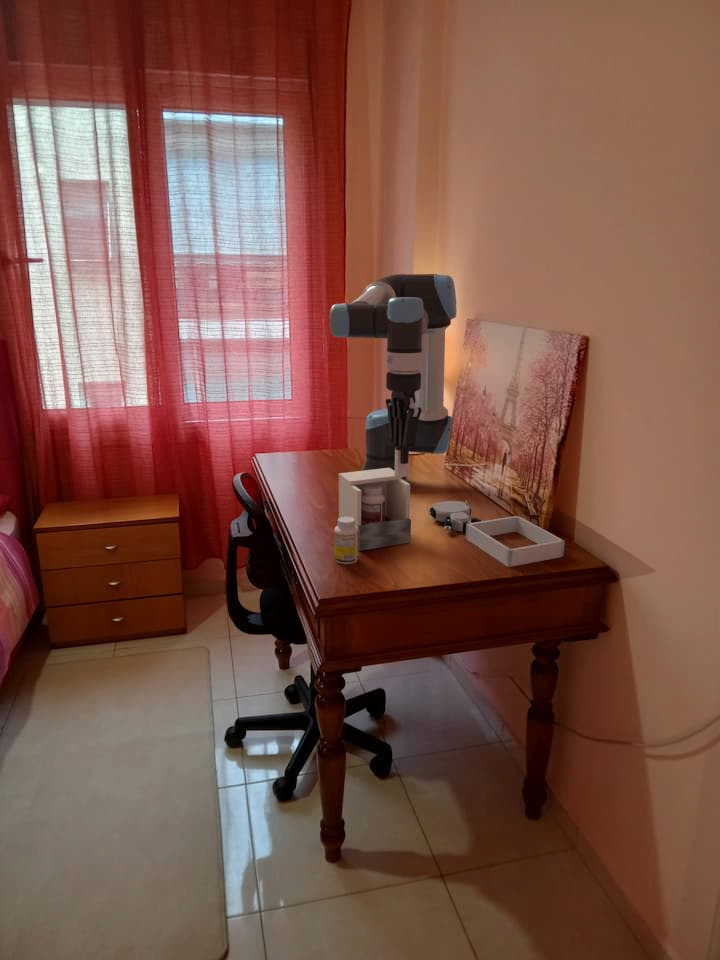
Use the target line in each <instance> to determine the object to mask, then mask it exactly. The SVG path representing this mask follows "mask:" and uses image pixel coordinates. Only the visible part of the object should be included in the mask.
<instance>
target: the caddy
mask: <svg viewBox="0 0 720 960" xmlns="http://www.w3.org/2000/svg"><path fill="white" fill-rule="evenodd" d="M394 474H395V471H394V470H392V469H391V468H382V469H373V470H365V471H362V470H358V471H348V472H340V473H338V519H339V518H341V517H352V518H354V519H355V526H357V527H358V526H360V525H361V496H362V495H363V494H364V492H363V487H364V486H365V485H368V484H377V485H380V486H382V493H381V494H383V495H384V497H385V516H386V517H387V518H389V519H390V520H391V521H393V520H400V519H407V518H409V519H410V515H411V514H410V513H411V512H410V511H411V510H410V507H411V484H410V483H409V482H408V481H407V482H406V481H404V480H402V477H399V478H397V477H395V476H394ZM358 551H360V550H359V549H358Z"/></svg>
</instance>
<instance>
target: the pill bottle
mask: <svg viewBox="0 0 720 960" xmlns="http://www.w3.org/2000/svg"><path fill="white" fill-rule="evenodd" d="M363 492H364V494H363V495H362V496H361V525H366V524H373V523H380V522H385V497H384V495H383V494H381V493H382V486H380V485H377V484H368V485H365V486H364V487H363Z"/></svg>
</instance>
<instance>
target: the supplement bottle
mask: <svg viewBox="0 0 720 960" xmlns="http://www.w3.org/2000/svg"><path fill="white" fill-rule="evenodd" d="M333 533H334V538H333V539H334V560H335V561H336V563H338V564H341V565H352V564H355V563H357V562H358V560H359V550H358V527H357V526H355V519H354V518H352V517H341V518H339V517H338V519H337V525H336V526H335V527H334V529H333Z"/></svg>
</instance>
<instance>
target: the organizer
mask: <svg viewBox="0 0 720 960" xmlns="http://www.w3.org/2000/svg"><path fill="white" fill-rule="evenodd" d="M514 532H516V533H518V534H520V535H521V536H523V537H524V538H527V539H528V540H530V541H532V542H534V543H535V544H532V545H526V546H522V547H515V548H509V547H508V546H506V545H505V544H504V543H501V542H500V541H498V540H496V539H495V538H493V537H492V536H498V535H502V534H509V533H514ZM465 540H467V541H468V542H470V543H471V544H473V545H474V546H476V547H477V546H478V547H477V548H479V549H480V550H482V551H484V552H485V553H487V554H488V555H490V556H491V557H492V558H494V559H495V560H497V561H499V562H500V563H502V564H503V565H504V566H506V567H508V568H511V567H515V566H517V567H518V566H521V565H526V564H533V563H537V562H542V561H547V560H553V559H557V558H558V559H560V558H562V557H564V555H565V553H564V552H565V544H566V540H564V539H562V538H560V537H558V536H556V535H555V534H553V533H551V532H549V531H547V530H545V529H544V528H542V527H540V526H538V525H536V524H534V523H532V522H530V521H529V520H527V519H525V518H523V517H521V516H519V515H514V516H507V517H506V516H505V517H500V518H495V519H488V520H481V522H475V523H468V524H466V531H465Z"/></svg>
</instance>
